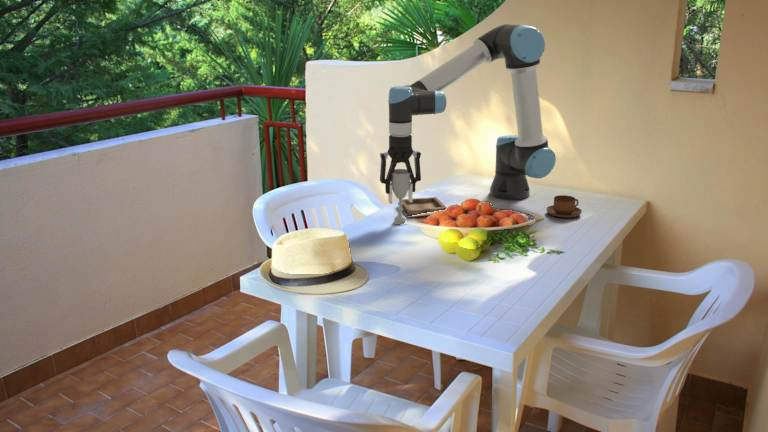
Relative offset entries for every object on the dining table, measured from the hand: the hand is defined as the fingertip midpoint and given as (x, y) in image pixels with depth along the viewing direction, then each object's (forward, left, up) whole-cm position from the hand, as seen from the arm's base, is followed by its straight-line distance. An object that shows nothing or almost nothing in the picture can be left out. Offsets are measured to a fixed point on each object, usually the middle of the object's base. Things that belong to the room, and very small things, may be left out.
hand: (400, 201), depth 233 cm
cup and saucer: (-58, +4, -8) cm, 59 cm away
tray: (-11, -12, -7) cm, 18 cm away
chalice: (0, 0, -8) cm, 8 cm away
